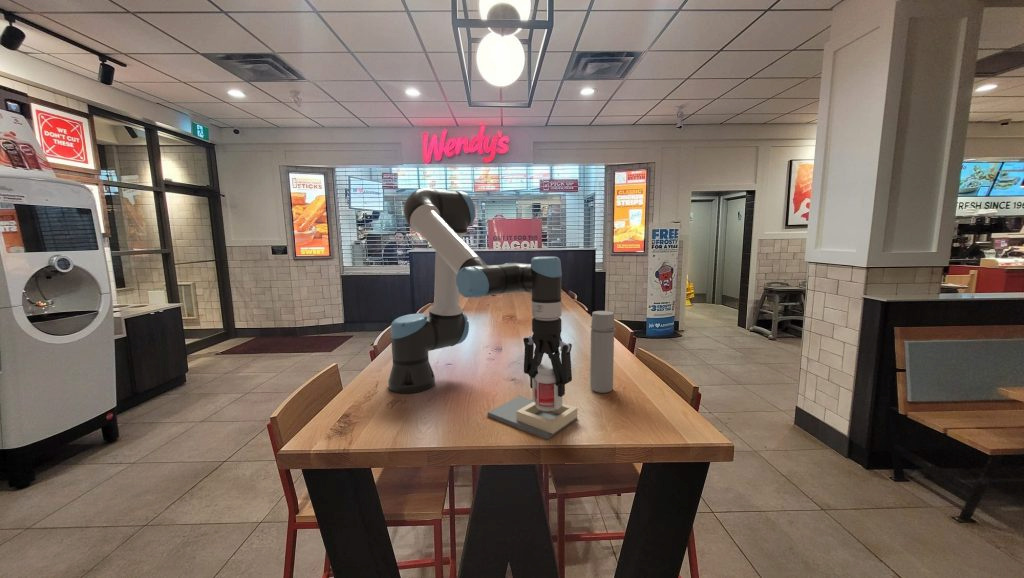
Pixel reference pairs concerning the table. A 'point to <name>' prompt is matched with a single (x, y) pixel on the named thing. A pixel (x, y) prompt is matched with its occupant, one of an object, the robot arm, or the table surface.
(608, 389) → the water bottle
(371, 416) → the table surface
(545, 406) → the pill bottle
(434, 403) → the table surface
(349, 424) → the table surface
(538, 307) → the robot arm
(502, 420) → the socket board
